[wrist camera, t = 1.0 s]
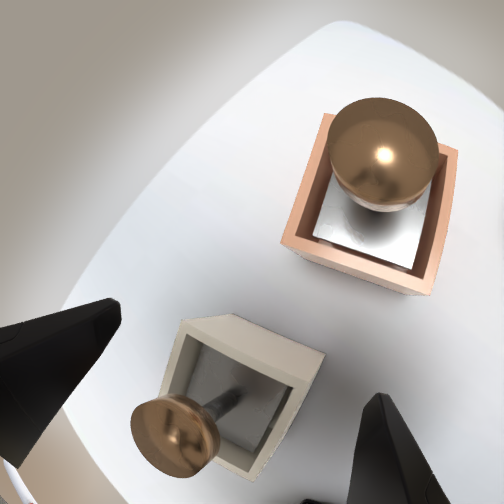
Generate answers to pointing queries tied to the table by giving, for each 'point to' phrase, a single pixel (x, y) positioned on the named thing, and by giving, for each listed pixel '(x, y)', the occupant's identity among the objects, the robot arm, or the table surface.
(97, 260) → the table surface
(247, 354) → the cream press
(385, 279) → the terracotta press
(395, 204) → the brown and grey plunger
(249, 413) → the round copper knob
